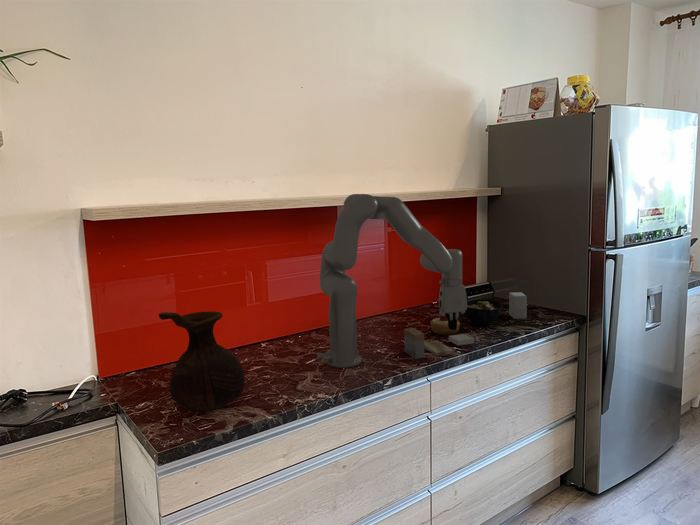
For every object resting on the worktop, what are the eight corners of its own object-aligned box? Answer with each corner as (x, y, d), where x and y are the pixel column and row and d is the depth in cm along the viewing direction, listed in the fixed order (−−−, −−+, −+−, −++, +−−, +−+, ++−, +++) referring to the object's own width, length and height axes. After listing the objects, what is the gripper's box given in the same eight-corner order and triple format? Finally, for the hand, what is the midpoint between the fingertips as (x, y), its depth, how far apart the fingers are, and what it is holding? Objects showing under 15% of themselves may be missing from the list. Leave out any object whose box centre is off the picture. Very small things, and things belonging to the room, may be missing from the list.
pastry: (424, 333, 220) (423, 312, 219) (444, 327, 227) (443, 307, 226) (446, 338, 210) (445, 316, 209) (466, 332, 217) (465, 311, 216)
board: (436, 355, 190) (436, 352, 190) (420, 345, 202) (420, 342, 202) (454, 353, 192) (454, 350, 192) (436, 343, 204) (436, 340, 204)
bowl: (453, 324, 230) (453, 302, 228) (476, 316, 241) (476, 295, 239) (487, 331, 217) (487, 308, 215) (509, 323, 228) (509, 300, 227)
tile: (457, 340, 200) (474, 338, 202) (448, 335, 206) (464, 333, 208) (457, 346, 200) (473, 344, 202) (448, 341, 206) (464, 339, 209)
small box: (526, 318, 235) (527, 295, 233) (513, 319, 235) (514, 296, 233) (521, 314, 242) (521, 291, 241) (508, 314, 243) (509, 292, 241)
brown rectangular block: (415, 359, 187) (414, 335, 186) (404, 351, 196) (403, 329, 195) (424, 357, 189) (424, 334, 187) (413, 350, 197) (413, 327, 196)
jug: (173, 393, 163) (165, 299, 159) (244, 385, 168) (238, 293, 164) (165, 424, 142) (155, 316, 138) (247, 414, 147) (240, 309, 143)
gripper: (439, 285, 193) (440, 334, 196) (474, 281, 198) (474, 329, 201) (429, 282, 200) (430, 329, 203) (464, 278, 205) (464, 324, 208)
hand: (452, 329), depth 202 cm, fingers closed
